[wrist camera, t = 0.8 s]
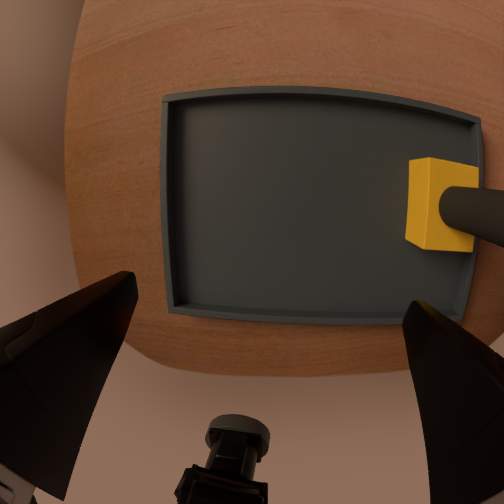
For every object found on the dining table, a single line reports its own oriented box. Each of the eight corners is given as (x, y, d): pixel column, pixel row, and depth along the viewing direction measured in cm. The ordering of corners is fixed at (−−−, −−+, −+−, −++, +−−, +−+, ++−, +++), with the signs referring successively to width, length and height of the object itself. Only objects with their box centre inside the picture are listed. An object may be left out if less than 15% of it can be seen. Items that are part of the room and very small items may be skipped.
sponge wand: (450, 242, 18) (563, 302, 6) (404, 239, 19) (514, 309, 7) (455, 168, 17) (579, 171, 5) (408, 160, 18) (532, 145, 5)
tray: (452, 312, 20) (461, 321, 19) (176, 304, 24) (168, 313, 22) (469, 120, 16) (480, 117, 14) (171, 101, 20) (162, 95, 18)
